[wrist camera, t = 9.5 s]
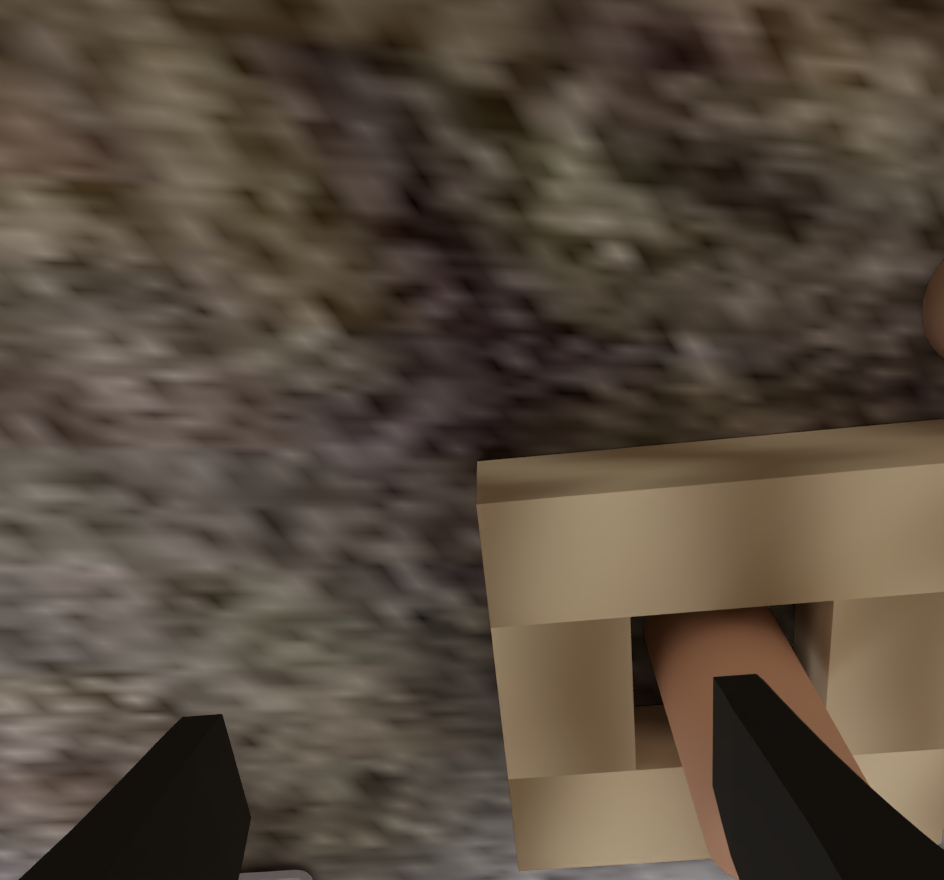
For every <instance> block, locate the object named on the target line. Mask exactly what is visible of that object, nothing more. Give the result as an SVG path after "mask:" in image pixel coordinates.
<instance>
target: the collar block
mask: <svg viewBox="0 0 944 880" xmlns="http://www.w3.org/2000/svg"><path fill="white" fill-rule="evenodd" d="M476 506H477V515H478V523H479V532H480V541H481V549H482V558H483V566H484V575H485V584H486V592H487V601H488V609H489V618H490V627H491V635H492V644H493V652H494V661H495V670H496V678H497V687H498V695H499V704H500V713H501V721H502V730H503V738H504V747H505V756H506V764H507V773H508V781H509V790H510V799H511V807H512V816H513V824H514V833H515V842H516V850H517V859H518V867H519V871H527V870H543V869H558V868H574V867H589V866H605V865H621V864H636V863H652V862H668V861H683V860H699V859H712V857H711V855H710V854H709V852H708V849H707V847H706V844H705V841H704V837H703V834H702V831H701V827H700V824H699V821H698V817H697V814H696V811H695V807H694V804H693V801H692V797H691V794H690V791H689V787H688V784H687V781H686V777H685V774H684V771H683V767H682V764H681V761H680V757H679V754H678V751H677V747H676V744H675V741H674V737H673V734H672V731H671V727H670V724H669V721H668V717H667V714H666V711H665V707H664V705H652V706H638V707H634V702H633V676H632V650H631V625H630V617H635V616H648V615H660V614H673V613H685V612H698V611H710V610H722V609H735V608H747V607H760V606H772V605H785V604H795V619H794V638H793V651H794V653H795V655H796V656H797V658H798V660H799V662H800V663H801V665H802V667H803V669H804V671H805V672H806V674H807V676H808V678H809V679H810V681H811V683H812V685H813V686H814V688H815V690H816V692H817V694H818V695H819V697H820V699H821V701H822V702H823V704H824V706H825V708H826V709H827V711H828V713H829V715H830V717H831V718H832V720H833V722H834V724H835V725H836V727H837V729H838V731H839V732H840V734H841V736H842V738H843V740H844V741H845V743H846V745H847V747H848V748H849V750H850V752H851V754H852V755H853V757H854V759H855V761H856V763H857V764H858V766H859V768H860V770H861V771H862V773H863V775H864V777H865V778H866V780H867V782H868V784H869V786H870V787H871V788H872V789H873V790H874V791H876V792H877V793H878V794H879V795H880V796H881V797H882V798H883V799H884V800H886V801H887V802H888V803H889V804H890V805H891V806H892V807H893V808H895V809H896V810H897V811H898V812H899V813H900V814H902V815H903V816H904V817H905V818H906V819H907V820H909V821H910V822H911V823H912V824H913V825H914V826H916V827H917V828H918V829H919V830H920V831H921V832H923V833H924V834H925V835H926V836H927V837H929V838H930V839H931V840H932V841H933V842H935V843H936V844H941V842H942V835H943V828H944V419H937V420H927V421H916V422H905V423H894V424H883V425H872V426H861V427H850V428H839V429H828V430H817V431H806V432H795V433H784V434H773V435H762V436H751V437H740V438H729V439H718V440H707V441H696V442H685V443H674V444H663V445H652V446H641V447H630V448H619V449H608V450H597V451H586V452H575V453H564V454H553V455H542V456H531V457H520V458H509V459H498V460H487V461H477V495H476Z"/></svg>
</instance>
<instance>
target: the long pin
mask: <svg viewBox="0 0 944 880" xmlns="http://www.w3.org/2000/svg"><path fill="white" fill-rule="evenodd" d="M644 639H645V644H646V647H647V650H648V654H649V657H650V660H651V664H652V667H653V671H654V674H655V677H656V681H657V684H658V687H659V691H660V694H661V697H662V701H663V704H664V707H665V711H666V714H667V717H668V721H669V724H670V727H671V731H672V734H673V737H674V741H675V744H676V747H677V751H678V754H679V757H680V761H681V764H682V767H683V771H684V774H685V777H686V781H687V784H688V787H689V791H690V794H691V797H692V801H693V804H694V807H695V811H696V814H697V817H698V821H699V824H700V827H701V831H702V834H703V837H704V841H705V844H706V847H707V849H708V852H709V854H710V855H711V857H712V859H713V860H714V861H715V863H716V864H717V865H718V866H719V867H720V868H721V869H722V870H724V871H725V872H726V873H728V874H729V875H731V876H732V877H734V878H736V879H738V880H739V877H738V875H737V872H736V869H735V867H734V864H733V861H732V858H731V855H730V852H729V848H728V844H727V841H726V837H725V833H724V830H723V826H722V822H721V818H720V814H719V810H718V806H717V802H716V798H715V794H714V790H713V787H712V762H713V677H718V676H732V675H745V674H757V675H759V676H760V677H761V678H762V679H763V680H764V681H765V682H766V683H767V684H768V685H769V686H770V687H771V688H772V689H773V690H774V691H775V692H776V694H777V695H778V696H779V697H780V698H781V699H782V700H783V701H784V702H785V703H786V704H787V705H788V706H789V707H790V708H791V709H792V710H793V711H794V713H795V714H796V715H797V716H798V717H799V718H800V719H801V720H802V721H803V722H804V723H805V724H806V725H807V726H808V727H809V728H810V729H811V730H812V731H813V732H814V733H815V734H816V735H817V736H818V737H819V738H820V739H821V740H822V741H823V742H824V743H825V744H826V745H827V746H828V747H829V748H830V749H831V750H832V751H833V752H834V753H835V754H836V755H837V756H838V757H839V758H840V759H841V760H842V761H844V762H845V763H846V764H847V765H848V766H849V767H850V768H851V769H852V770H853V771H854V772H855V773H856V774H857V775H858V776H859V777H860V778H862V779H863V780H864V781H865V782H866V783H867V784H868V782H867V780H866V778H865V777H864V775H863V773H862V771H861V770H860V768H859V766H858V764H857V763H856V761H855V759H854V757H853V755H852V754H851V752H850V750H849V748H848V747H847V745H846V743H845V741H844V740H843V738H842V736H841V734H840V732H839V731H838V729H837V727H836V725H835V724H834V722H833V720H832V718H831V717H830V715H829V713H828V711H827V709H826V708H825V706H824V704H823V702H822V701H821V699H820V697H819V695H818V694H817V692H816V690H815V688H814V686H813V685H812V683H811V681H810V679H809V678H808V676H807V674H806V672H805V671H804V669H803V667H802V665H801V663H800V662H799V660H798V658H797V656H796V655H795V653H794V651H793V649H792V648H791V646H790V644H789V642H788V640H787V639H786V637H785V635H784V633H783V632H782V630H781V628H780V626H779V625H778V623H777V621H776V619H775V618H774V616H773V614H772V612H771V610H770V609H769V607H768V606H760V607H747V608H735V609H722V610H710V611H698V612H685V613H673V614H660V615H648V616H646V618H645V622H644ZM868 785H869V784H868Z"/></svg>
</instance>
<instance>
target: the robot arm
mask: <svg viewBox="0 0 944 880" xmlns="http://www.w3.org/2000/svg"><path fill="white" fill-rule="evenodd" d="M712 787H713V790H714V794H715V798H716V802H717V806H718V810H719V814H720V818H721V822H722V826H723V830H724V833H725V837H726V841H727V844H728V848H729V852H730V855H731V858H732V861H733V864H734V867H735V869H736V872H737V875H738V877H739V880H944V850H943V849H942V848H941V847H940V846H938V845H937V844H936V843H935V842H933V841H932V840H931V839H930V838H929V837H927V836H926V835H925V834H924V833H923V832H921V831H920V830H919V829H918V828H917V827H916V826H914V825H913V824H912V823H911V822H910V821H909V820H907V819H906V818H905V817H904V816H903V815H902V814H900V813H899V812H898V811H897V810H896V809H895V808H893V807H892V806H891V805H890V804H889V803H888V802H887V801H886V800H884V799H883V798H882V797H881V796H880V795H879V794H878V793H877V792H876V791H874V790H873V789H872V788H871V787H870V786H869V785H868V784H867V783H866V782H865V781H864V780H863V779H862V778H860V777H859V776H858V775H857V774H856V773H855V772H854V771H853V770H852V769H851V768H850V767H849V766H848V765H847V764H846V763H845V762H844V761H842V760H841V759H840V758H839V757H838V756H837V755H836V754H835V753H834V752H833V751H832V750H831V749H830V748H829V747H828V746H827V745H826V744H825V743H824V742H823V741H822V740H821V739H820V738H819V737H818V736H817V735H816V734H815V733H814V732H813V731H812V730H811V729H810V728H809V727H808V726H807V725H806V724H805V723H804V722H803V721H802V720H801V719H800V718H799V717H798V716H797V715H796V714H795V713H794V711H793V710H792V709H791V708H790V707H789V706H788V705H787V704H786V703H785V702H784V701H783V700H782V699H781V698H780V697H779V696H778V695H777V694H776V692H775V691H774V690H773V689H772V688H771V687H770V686H769V685H768V684H767V683H766V682H765V681H764V680H763V679H762V678H761V677H760V676H759V675H757V674H745V675H732V676H718V677H713V762H712ZM250 820H251V816H250V812H249V808H248V805H247V801H246V798H245V794H244V791H243V787H242V783H241V780H240V776H239V773H238V769H237V765H236V762H235V758H234V755H233V751H232V747H231V744H230V740H229V737H228V733H227V730H226V726H225V722H224V719H223V715H222V714H217V715H204V716H191V717H182V718H181V719H180V720H179V721H178V722H177V723H176V724H175V725H174V726H173V727H172V728H171V729H170V730H169V731H168V732H167V733H166V734H165V735H164V736H163V737H162V738H161V739H160V740H159V741H158V742H157V743H156V744H155V745H154V746H153V747H152V748H151V749H150V750H149V751H148V752H147V753H146V754H145V756H144V757H143V758H142V759H141V760H140V761H139V762H138V763H137V764H136V765H135V766H134V767H133V768H132V769H131V770H130V771H129V772H128V773H127V774H126V775H125V776H124V777H123V778H122V779H121V781H120V782H119V783H118V784H117V785H116V786H115V787H114V788H113V789H112V790H111V791H110V792H109V793H108V794H107V795H106V796H105V797H104V798H103V799H102V800H101V801H100V802H99V803H98V804H97V805H96V806H95V807H94V808H93V809H92V810H91V811H90V812H89V813H88V814H87V815H86V816H85V817H84V818H83V819H82V820H81V821H80V822H79V823H78V824H77V825H76V826H75V827H74V828H73V829H72V830H71V831H70V832H69V833H68V834H67V835H66V836H65V837H64V838H62V839H61V840H60V841H59V842H58V843H57V844H56V845H55V846H54V847H53V848H52V849H51V850H50V851H49V852H48V853H47V854H45V855H44V856H43V857H42V858H41V859H40V860H39V861H38V862H37V863H36V864H35V865H34V866H33V867H32V868H31V869H30V870H28V871H27V872H26V873H25V874H24V875H23V876H22V877H21V878H20V879H19V880H313V879H312V877H311V876H310V875H309V874H308V873H307V872H305V871H302V870H284V871H269V872H253V873H240V870H241V866H242V861H243V857H244V851H245V846H246V841H247V836H248V831H249V826H250Z"/></svg>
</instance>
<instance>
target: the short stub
mask: <svg viewBox="0 0 944 880" xmlns="http://www.w3.org/2000/svg"><path fill="white" fill-rule="evenodd" d="M922 322H923V328H924V332H925V335H926V337H927V339H928V342H929V343H930V345H931V346H932V348H933V349H934V350H935V351H936V353H937V354H938V355H939V356H941V357H942V358H943V359H944V259H943V261H942V262H941V263H940V265H939V266H938V267H937V269H936V270H935V272H934V274H933V275H932V277H931V279H930V281H929V284H928V286H927V288H926V292H925V295H924V299H923V305H922Z"/></svg>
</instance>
